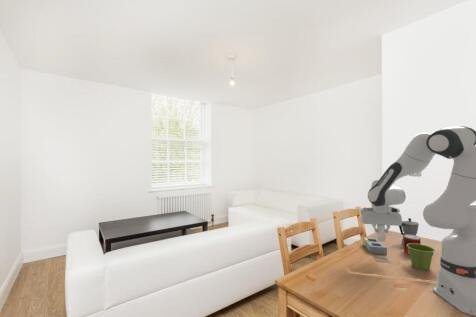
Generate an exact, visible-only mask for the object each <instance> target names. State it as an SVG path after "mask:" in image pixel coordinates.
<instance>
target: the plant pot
mask: <svg viewBox="0 0 476 317" xmlns="http://www.w3.org/2000/svg"><path fill="white" fill-rule="evenodd" d="M407 247H408V250H409V253H410V255H409V258H410V262H411V266H412V267H414V268H416V269H418V270H421V271H429V270H431V265H432V259H433V256H434V253H435V252H436V249H435V248H434V247H431V246H428V245H426V244H414V243H410V244H407Z"/></svg>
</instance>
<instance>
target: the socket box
mask: <svg viewBox="0 0 476 317" xmlns="http://www.w3.org/2000/svg"><path fill="white" fill-rule="evenodd" d="M362 245H363V246H364V247H365V248H366V249H367V251H368V252H369V253H370V254H374V255H388V248H387V246H386V245H385V244H384V243H383V242H382V241H378V238H374V237H373V238H372V237H362Z"/></svg>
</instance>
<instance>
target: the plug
mask: <svg viewBox="0 0 476 317" xmlns="http://www.w3.org/2000/svg"><path fill="white" fill-rule="evenodd" d="M376 227H377V228H376V229H378V232H377V239H378V241H381V242H382V243H383V242H386V233H385V229H386V228H385V227H386V225H376Z"/></svg>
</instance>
